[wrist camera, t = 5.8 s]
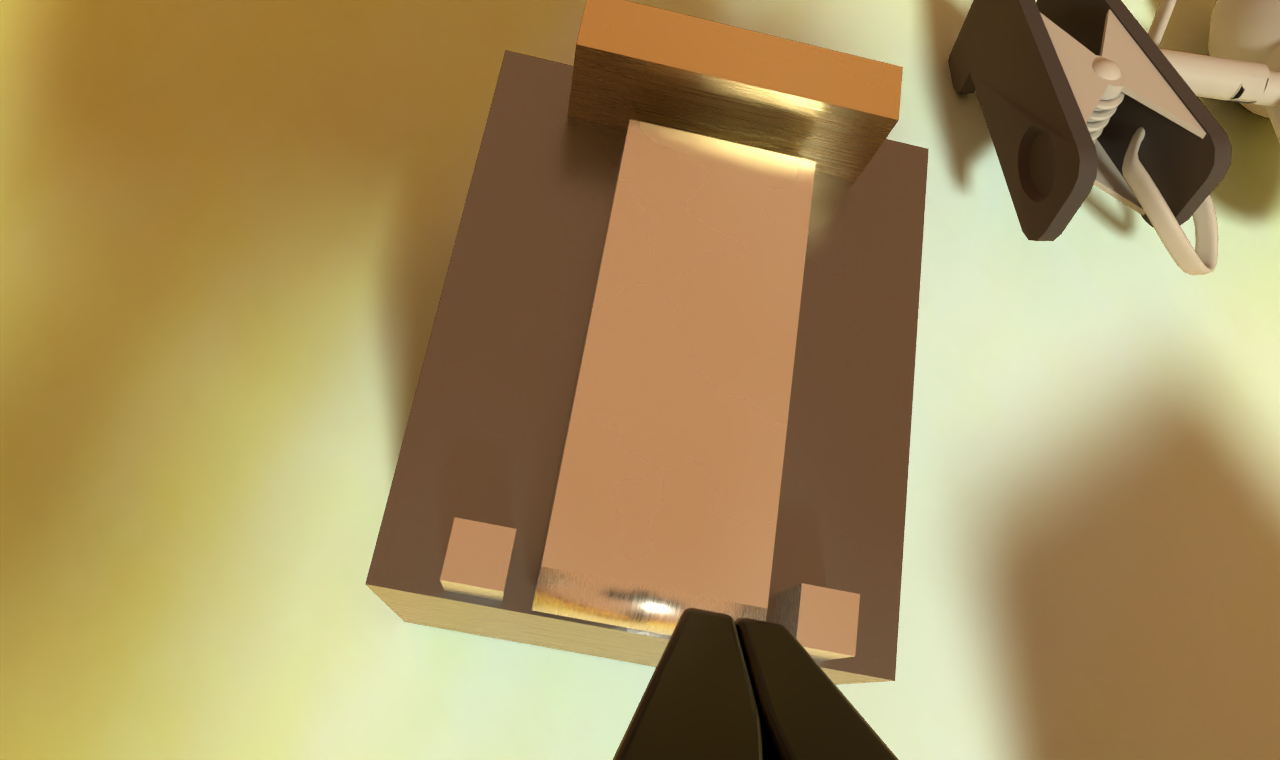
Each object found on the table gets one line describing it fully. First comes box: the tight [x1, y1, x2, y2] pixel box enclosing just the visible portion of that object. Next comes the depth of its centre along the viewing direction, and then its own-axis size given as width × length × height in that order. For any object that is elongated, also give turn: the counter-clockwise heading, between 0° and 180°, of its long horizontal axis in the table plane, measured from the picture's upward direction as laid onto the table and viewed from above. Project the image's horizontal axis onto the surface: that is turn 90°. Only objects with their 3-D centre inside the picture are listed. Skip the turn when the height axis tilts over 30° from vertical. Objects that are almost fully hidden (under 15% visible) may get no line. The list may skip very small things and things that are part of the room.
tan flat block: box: [532, 119, 816, 636], centre depth 14 cm, size 8×3×1 cm, turn 170°
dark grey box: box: [366, 0, 928, 684], centre depth 16 cm, size 9×8×8 cm
